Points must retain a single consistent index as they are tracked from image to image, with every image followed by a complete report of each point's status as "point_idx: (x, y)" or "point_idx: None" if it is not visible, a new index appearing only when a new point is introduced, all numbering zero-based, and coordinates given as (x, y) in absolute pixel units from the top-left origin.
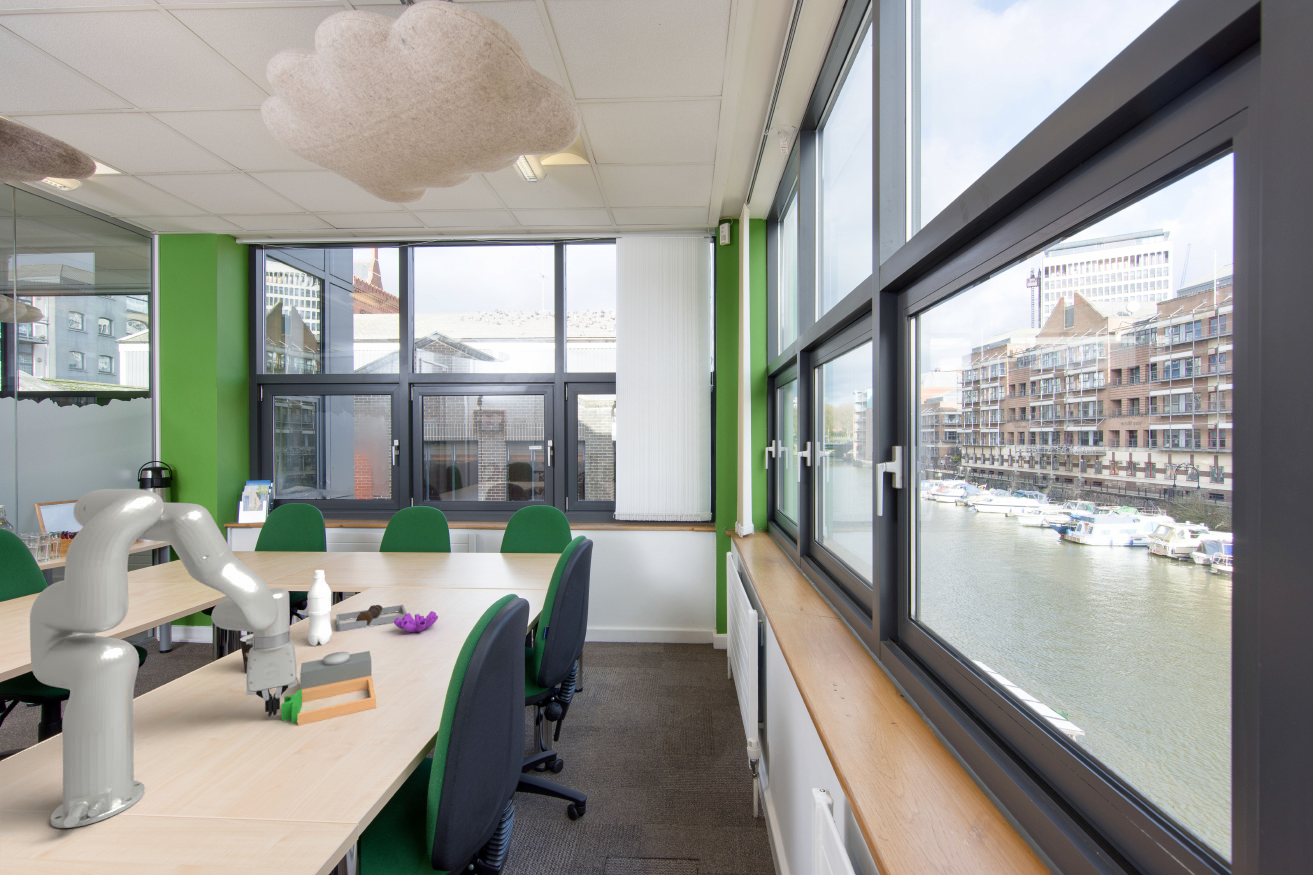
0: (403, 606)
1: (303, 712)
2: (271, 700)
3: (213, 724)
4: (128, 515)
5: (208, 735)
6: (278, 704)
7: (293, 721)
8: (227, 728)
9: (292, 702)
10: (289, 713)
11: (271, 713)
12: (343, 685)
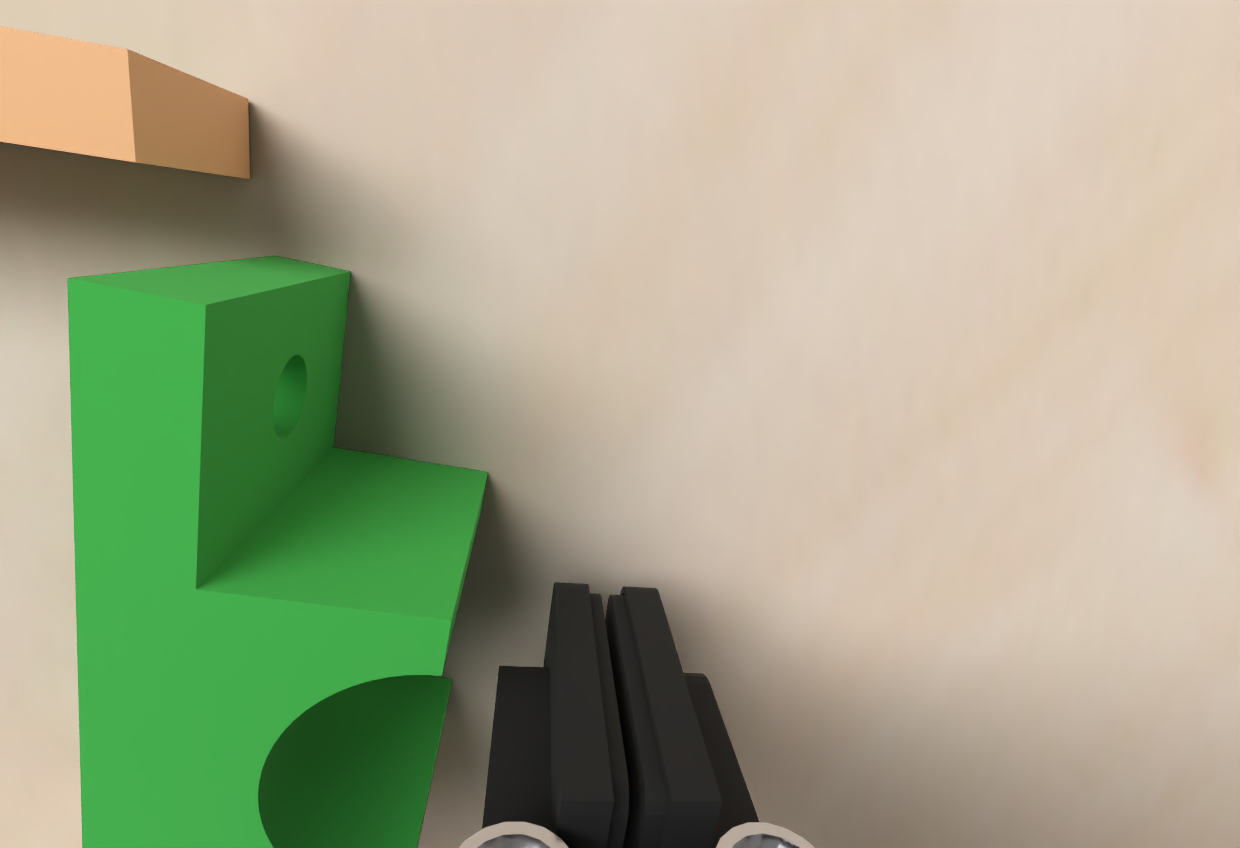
0: None
1: (2, 121)
2: (648, 802)
3: (1091, 800)
4: None
5: (1204, 572)
6: (512, 720)
7: (316, 271)
8: (1029, 634)
9: (215, 584)
10: (360, 488)
11: (618, 604)
12: None
